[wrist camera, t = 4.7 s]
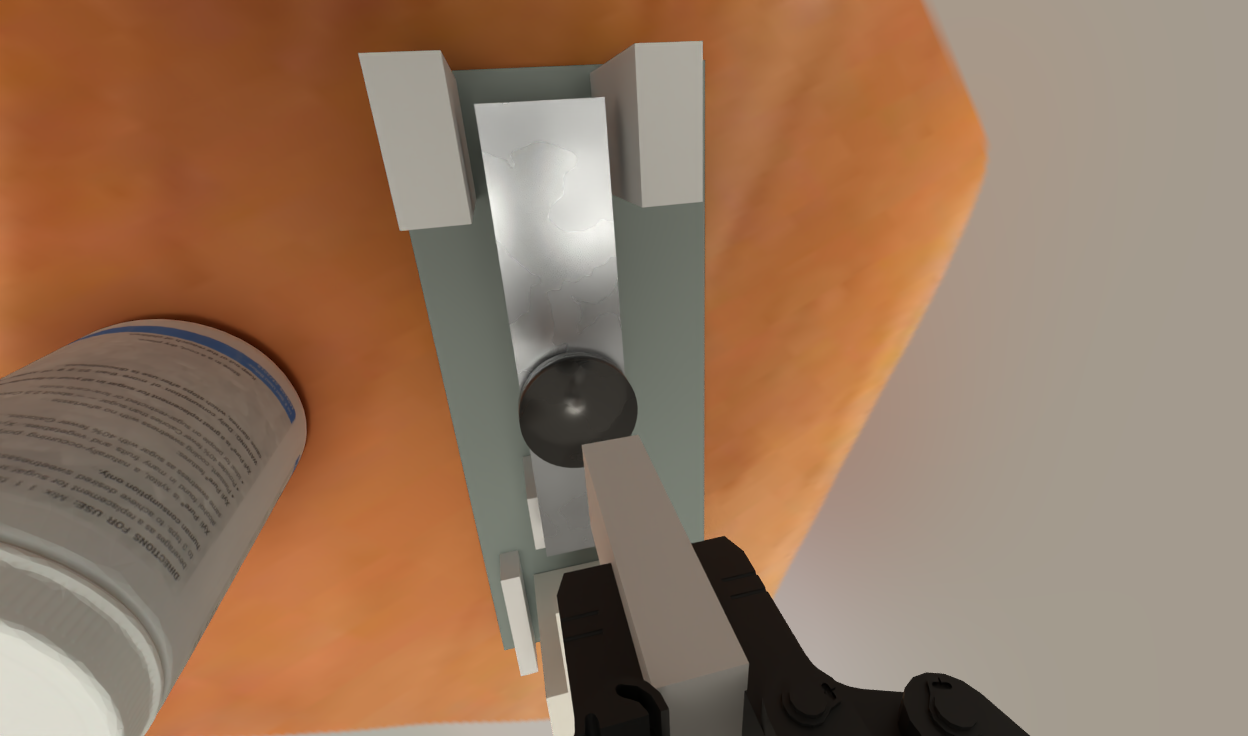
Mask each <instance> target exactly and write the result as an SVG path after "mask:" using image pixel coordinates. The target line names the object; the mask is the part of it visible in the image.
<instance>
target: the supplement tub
mask: <svg viewBox="0 0 1248 736" xmlns="http://www.w3.org/2000/svg"><path fill="white" fill-rule="evenodd" d="M306 435H307V430H306V417H305V412H304V409H303V406H302V403H301V401H300V399H299V396H298V394H297V392H296V391H295V389H294V387H293V386H292V384H291V383H290V381H289V380H288V378H287V377H286V376H285V374H284V373H283V372H282V371H281V370H280V369H279V368H278V366H277V365H276V364H275V363H274V362H273V361H272V360H271V359H269V358H268V357H267V356H266V355H265V354H263V353H262V352H261V351H259V350H258V349H256V348H255V347H253V346H252V345H250V344H248V343H247V342H245V341H243V340H241V339H240V338H237V337H235V336H233V335H231V334H228V333H226V332H224V331H221V330H218V329H215V328H212V327H209V326H205V325H201V324H197V323H192V322H187V321H180V320H168V319H146V320H136V321H130V322H124V323H119V324H115V325H112V326H109V327H105V328H102V329H99V330H97V331H94V332H92V333H90V334H88V335H86V336H84V337H82V338H80V339H78V340H76V341H74V342H72V343H70V344H68V345H66V346H64V347H62V348H60V349H58V350H56V351H54V352H52V353H50V354H48V355H46V356H44V357H42V358H40V359H38V360H37V361H35V362H33V363H31V364H29V365H27V366H25V367H23V368H21V369H19V370H17V371H15V372H13V373H11V374H9V375H7V376H5V377H3V378H1V379H0V736H144V735H145V734H146V732H147V731H148V729H149V728H150V726H151V724H152V723H153V721H154V719H155V717H156V715H157V713H158V711H159V710H160V708H161V707H162V705H163V704H164V702H165V700H166V698H167V697H168V695H169V693H170V691H171V689H172V688H173V686H174V684H175V682H176V681H177V679H178V677H179V676H180V674H181V672H182V670H183V669H184V667H185V665H186V664H187V662H188V660H189V658H190V657H191V655H192V653H193V651H194V649H195V648H196V646H197V644H198V642H199V640H200V639H201V637H202V635H203V633H204V631H205V630H206V628H207V626H208V624H209V623H210V621H211V619H212V617H213V615H214V614H215V612H216V610H217V608H218V606H219V605H220V603H221V601H222V599H223V597H224V596H225V594H226V592H227V590H228V588H229V587H230V585H231V583H232V581H233V579H234V578H235V576H236V574H237V572H238V571H239V569H240V567H241V565H242V563H243V562H244V560H245V558H246V556H247V554H248V553H249V551H250V549H251V547H252V546H253V544H254V542H255V540H256V538H257V537H258V535H259V533H260V531H261V529H262V528H263V526H264V524H265V522H266V520H267V519H268V517H269V515H270V513H271V512H272V510H273V508H274V506H275V504H276V502H277V501H278V499H279V497H280V495H281V494H282V492H283V490H284V488H285V486H286V485H287V483H288V481H289V479H290V477H291V476H292V474H293V472H294V470H295V468H296V466H297V464H298V462H299V460H300V458H301V456H302V453H303V450H304V446H305V442H306Z"/></svg>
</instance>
